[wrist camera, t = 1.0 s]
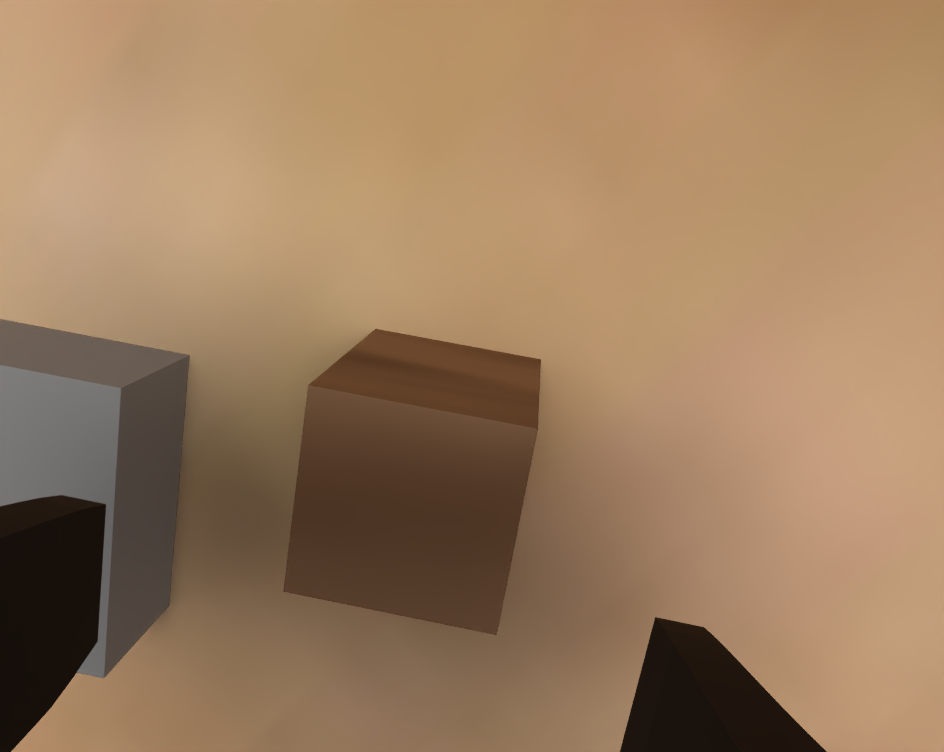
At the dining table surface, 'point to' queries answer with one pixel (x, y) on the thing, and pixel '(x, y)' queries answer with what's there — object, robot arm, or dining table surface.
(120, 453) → the pedestal block
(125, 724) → the dining table surface
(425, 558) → the walnut block
